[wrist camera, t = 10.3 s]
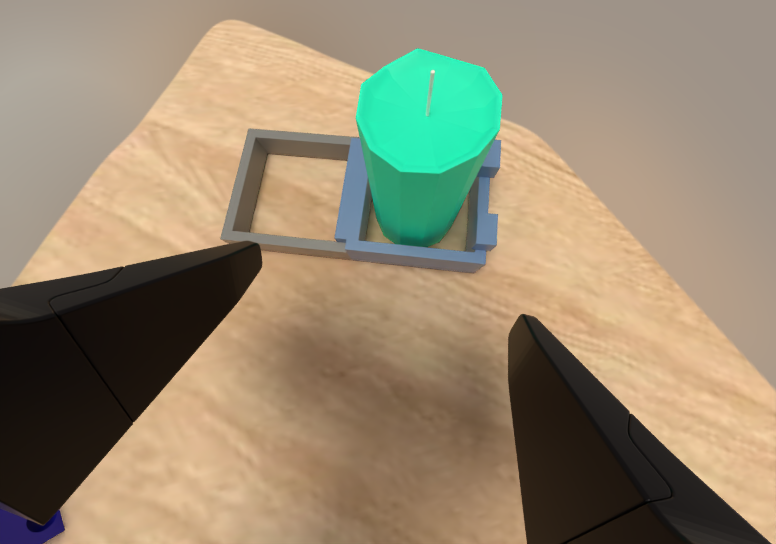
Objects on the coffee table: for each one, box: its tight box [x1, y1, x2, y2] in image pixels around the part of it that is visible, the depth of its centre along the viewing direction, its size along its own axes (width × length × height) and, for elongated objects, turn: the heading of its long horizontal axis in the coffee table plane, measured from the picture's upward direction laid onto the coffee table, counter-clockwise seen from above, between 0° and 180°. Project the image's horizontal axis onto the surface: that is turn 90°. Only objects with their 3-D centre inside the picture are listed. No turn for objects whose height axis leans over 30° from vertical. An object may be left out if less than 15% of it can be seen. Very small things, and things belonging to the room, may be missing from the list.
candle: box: [356, 48, 502, 247], centre depth 16 cm, size 6×6×12 cm
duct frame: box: [220, 129, 501, 273], centre depth 20 cm, size 18×9×4 cm, turn 83°
